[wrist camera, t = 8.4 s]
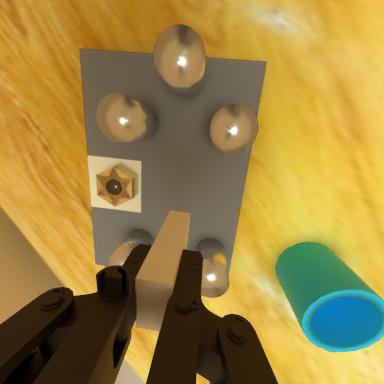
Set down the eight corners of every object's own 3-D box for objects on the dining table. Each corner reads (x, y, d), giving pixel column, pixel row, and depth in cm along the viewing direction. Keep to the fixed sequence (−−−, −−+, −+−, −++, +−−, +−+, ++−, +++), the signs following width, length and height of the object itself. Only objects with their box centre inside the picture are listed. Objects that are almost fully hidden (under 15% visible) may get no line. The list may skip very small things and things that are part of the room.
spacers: (124, 51, 20) (90, 19, 14) (256, 61, 19) (276, 30, 14) (127, 268, 29) (106, 302, 23) (220, 281, 28) (222, 320, 22)
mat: (83, 50, 21) (79, 48, 20) (265, 63, 20) (266, 61, 19) (97, 261, 29) (95, 264, 29) (226, 279, 28) (226, 282, 28)
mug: (274, 244, 26) (302, 291, 18) (339, 239, 25) (398, 287, 17) (276, 312, 29) (300, 376, 21) (333, 310, 28) (380, 377, 20)
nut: (104, 162, 24) (94, 164, 22) (137, 165, 24) (131, 168, 22) (106, 199, 26) (97, 204, 24) (137, 203, 25) (131, 209, 23)
